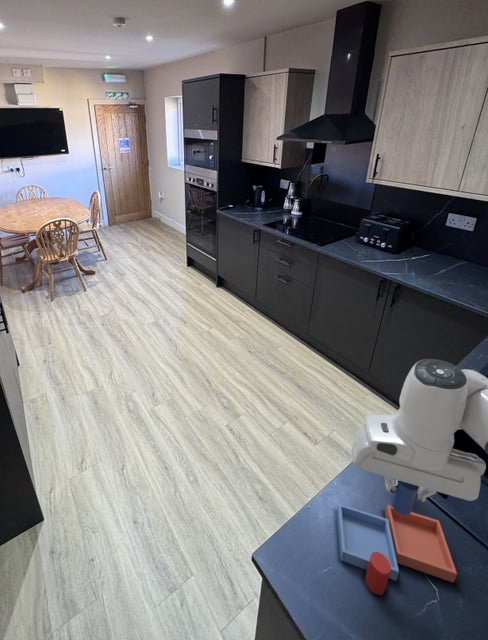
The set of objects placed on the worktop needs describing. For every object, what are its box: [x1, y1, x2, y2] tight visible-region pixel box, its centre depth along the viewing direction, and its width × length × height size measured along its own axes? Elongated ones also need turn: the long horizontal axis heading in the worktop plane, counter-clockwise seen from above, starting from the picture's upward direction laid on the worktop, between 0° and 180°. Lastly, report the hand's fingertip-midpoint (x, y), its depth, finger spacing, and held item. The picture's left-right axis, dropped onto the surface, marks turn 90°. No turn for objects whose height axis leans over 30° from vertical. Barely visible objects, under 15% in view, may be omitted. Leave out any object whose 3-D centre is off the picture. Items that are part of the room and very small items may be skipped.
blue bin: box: [336, 503, 400, 582], centre depth 73 cm, size 11×10×3 cm
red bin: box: [384, 504, 458, 583], centre depth 73 cm, size 11×10×3 cm
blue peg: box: [389, 480, 420, 515], centre depth 64 cm, size 4×4×7 cm
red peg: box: [364, 552, 391, 596], centre depth 66 cm, size 4×4×7 cm
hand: (403, 492), depth 64 cm, fingers closed on blue peg, 3 cm apart
